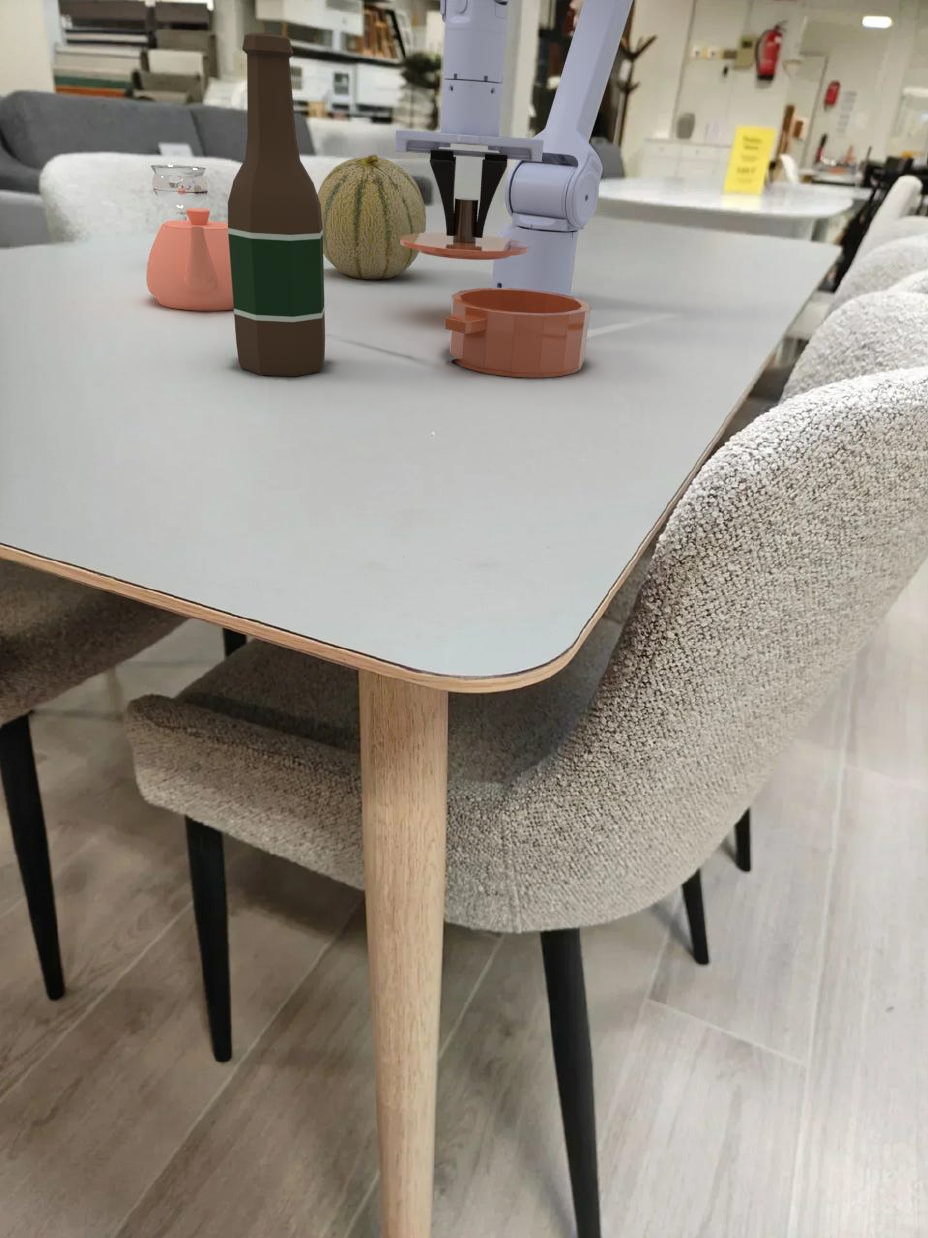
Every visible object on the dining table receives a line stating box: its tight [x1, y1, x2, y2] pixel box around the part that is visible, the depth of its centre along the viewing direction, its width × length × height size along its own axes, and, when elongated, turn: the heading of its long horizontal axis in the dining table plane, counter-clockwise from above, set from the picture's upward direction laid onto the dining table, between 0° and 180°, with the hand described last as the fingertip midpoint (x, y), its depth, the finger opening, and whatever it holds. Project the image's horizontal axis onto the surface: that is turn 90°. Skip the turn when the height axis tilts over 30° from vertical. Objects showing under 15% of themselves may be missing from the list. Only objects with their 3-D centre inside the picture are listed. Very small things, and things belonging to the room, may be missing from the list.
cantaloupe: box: [317, 153, 427, 281], centre depth 111 cm, size 15×15×15 cm
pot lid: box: [399, 197, 529, 261], centre depth 89 cm, size 14×14×5 cm
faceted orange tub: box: [444, 287, 591, 379], centre depth 80 cm, size 13×18×5 cm
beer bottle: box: [227, 32, 326, 377], centre depth 69 cm, size 8×8×24 cm
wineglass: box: [150, 164, 209, 220], centre depth 111 cm, size 7×7×12 cm
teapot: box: [146, 207, 234, 312], centre depth 93 cm, size 12×18×10 cm
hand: (464, 235), depth 89 cm, fingers closed on pot lid, 2 cm apart
